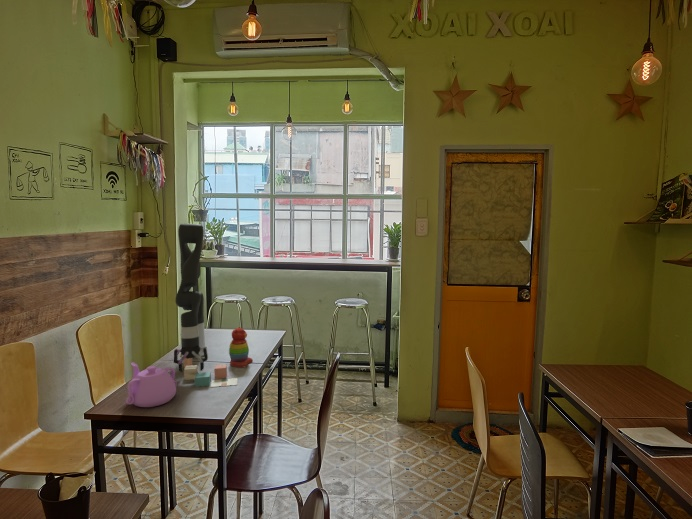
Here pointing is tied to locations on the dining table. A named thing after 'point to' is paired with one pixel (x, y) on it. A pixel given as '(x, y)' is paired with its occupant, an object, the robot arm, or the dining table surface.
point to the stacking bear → (239, 349)
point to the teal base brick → (202, 379)
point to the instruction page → (224, 382)
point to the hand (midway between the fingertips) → (191, 371)
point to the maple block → (190, 372)
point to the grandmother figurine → (186, 361)
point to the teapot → (151, 386)
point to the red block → (220, 371)
